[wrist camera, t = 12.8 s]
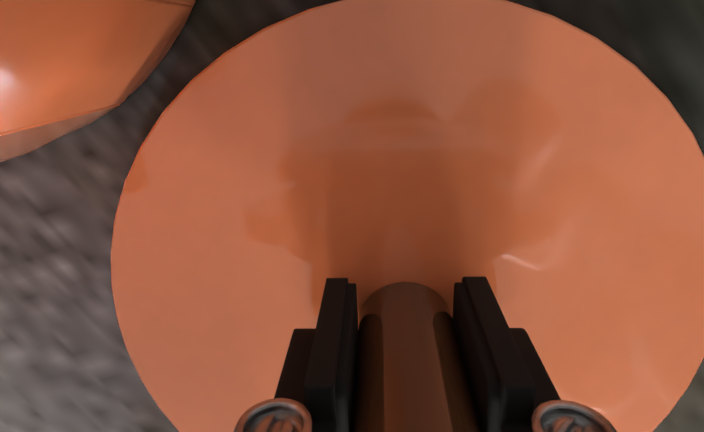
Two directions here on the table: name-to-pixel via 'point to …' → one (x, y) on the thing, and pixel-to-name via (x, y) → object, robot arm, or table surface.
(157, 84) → the table surface
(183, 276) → the lid
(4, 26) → the pot
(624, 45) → the table surface
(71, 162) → the table surface
